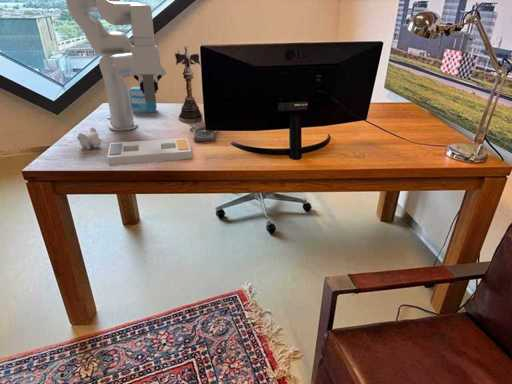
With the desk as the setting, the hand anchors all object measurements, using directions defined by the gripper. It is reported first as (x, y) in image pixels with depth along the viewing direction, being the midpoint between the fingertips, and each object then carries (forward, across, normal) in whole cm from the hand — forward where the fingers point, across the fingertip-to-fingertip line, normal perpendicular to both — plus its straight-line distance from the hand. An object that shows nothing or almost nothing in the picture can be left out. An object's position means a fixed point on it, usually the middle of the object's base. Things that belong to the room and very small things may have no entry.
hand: (149, 91), depth 140 cm
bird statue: (+21, +18, +31) cm, 41 cm away
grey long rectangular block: (+3, 0, 0) cm, 3 cm away
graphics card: (+22, +20, +5) cm, 30 cm away
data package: (+21, -4, +45) cm, 50 cm away
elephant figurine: (+21, -25, 0) cm, 33 cm away
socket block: (+21, -2, -12) cm, 24 cm away
